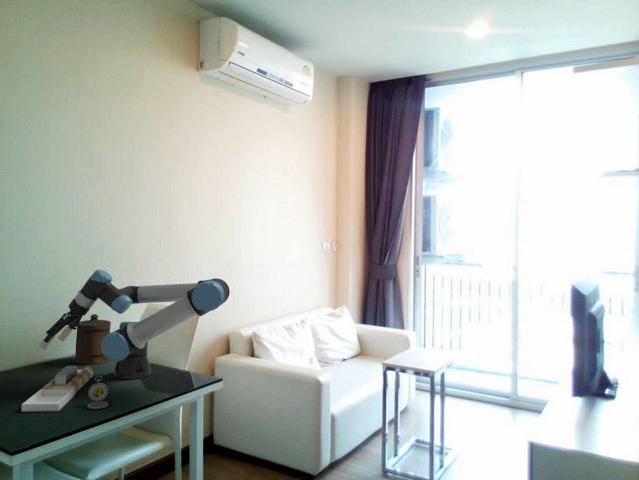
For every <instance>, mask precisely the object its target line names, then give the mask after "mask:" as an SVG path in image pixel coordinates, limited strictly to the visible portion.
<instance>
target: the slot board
mask: <svg viewBox="0 0 639 480" xmlns="http://www.w3.org/2000/svg"><path fill="white" fill-rule="evenodd" d="M93 375H94V369H93V368H91V367H90V366H86V367H85V368H81V369H79V368H77V376H75V377H74V378H73V379H72V380H71V381H70V382H69V383H67V384H66V386H55V377H54V378H53V379H51V380H50V381H48V383H46V384H45V385H44V386H43V387H42V389H75V394H76V393H77V392H78V391H79V390H80V389H82V388H83V386H84V385H86V383H88V382H89V380H91V379H92V378H93Z"/></svg>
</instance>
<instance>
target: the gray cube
mask: <svg viewBox="0 0 639 480" xmlns="http://www.w3.org/2000/svg"><path fill="white" fill-rule="evenodd" d="M63 369H74V376H73V378H74V377H75V376H77V369H78V365H66V366H65V367H64V368H63Z"/></svg>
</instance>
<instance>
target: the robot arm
mask: <svg viewBox="0 0 639 480" xmlns="http://www.w3.org/2000/svg"><path fill="white" fill-rule="evenodd" d="M112 281H113V277H112V275H111V274H110V273H109V272H108V271H106V270H103V269H96V270H94V272H93V273H92V274H91V276H89V277H88V279H87V280H86V281H85V283H84V285H83V286H82V287H81V289H79V290H77V294H76V295H75V297H74V298H73V299H72V301H70V303H69V304H68V308H69V311H68V312H67V313H66V312H65V313H63V315H62V316H61V317H60V318H59V319H58V320H57V321H56V322H55V323H53V325H52V326H51V327H50V328H49V329H47V330H46V332H45V333H46V336H45V337H44V338H43V340H42V341H41V342H40V344H39V345H38V347H39V348H40V349H42V350H43V351H45V350H46V349H47V348H48V346H49V345H50V344H51V343H52V341H53V340H54V339H55V336H56V335H57V334H58V333H59V332H61V330H62V332H61V333H60V334H59V336H58V337H57V339H58V340H59V341H60V342H62V343H64V342H65V341H66V339H67V338H68V336H70V334H71V333H72V331H73V330H74V331H77V326H78V324H79V322H81V321H82V318H83V316H86V315H87V314H88V312H89V310H90V309H91V308H92V307H93V306H94V304H95V303H96V302H97V300H98V299H99V300H100V301H102V302H103V303H104V304H105V305H107V306H108V307H109V308H110V309H111V310H112V311H114V312H116V313H117V314H119V315H122V314H124V313H125V312H126V311H128V310H129V308H130V307H131V305H134V304H135V305H136V304H138V305H139V304H151V303H156V304H157V303H171V304H169V305H167V306H166V307H163V308H162V309H160V310H158V311H156V312H155V313H153V314H151V315H149V316H148V317H146V318H143V319H142V320H140V321H121V322H120V323H119V326H118V329H116V330H114V331H112V332H111V331H110V333H109V334H107V335H106V336H105V337H104V339H103V340H102V344H101V350H102V353H103V354H104V356H105V357H106V358H107V359H109V360H108V361H110V362H111V361H112V362H116V363H115V367H114V369H113V377H114V378H117V379H121V380H137V379H141V378H146V377H148V376H150V375H151V372H152V368H151V363H150V362H149V358H148V347H149V346H148V342H149V341H151V340H152V339H154V338H156V337H158V336H160V335H162V334H164V333H165V332H167V331H169V330H171V329H172V328H174V327H176V326H178V325H180V324H182V323H184V322H185V321H187V320H189V319H192V318H193V317H195V316H198V317H202V316H204V315H206V314H208V313H209V312H211V311H215V310H216V309H218V308H219V307H220V306H222V305H223V304H225V303H226V301H228V299H229V296H230V293H231V292H230V286H229V285H228V283H227V282H226V281H225V280H223V279H220V278H215V277H214V278H211V279H204V280H198V281H197V282H196V283H175V284H174V283H172V284H171V283H170V284H159V285H158V284H156V285H137V286H136V285H128V286H125V287H122V288H117V287H116V286H115V285H114V284H112Z"/></svg>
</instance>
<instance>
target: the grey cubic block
mask: <svg viewBox="0 0 639 480" xmlns="http://www.w3.org/2000/svg"><path fill="white" fill-rule="evenodd" d="M54 378H55V386H66V384H67V383H69V380H70V372H60V371H58V372H57V373H56V374H55V375H54Z"/></svg>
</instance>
